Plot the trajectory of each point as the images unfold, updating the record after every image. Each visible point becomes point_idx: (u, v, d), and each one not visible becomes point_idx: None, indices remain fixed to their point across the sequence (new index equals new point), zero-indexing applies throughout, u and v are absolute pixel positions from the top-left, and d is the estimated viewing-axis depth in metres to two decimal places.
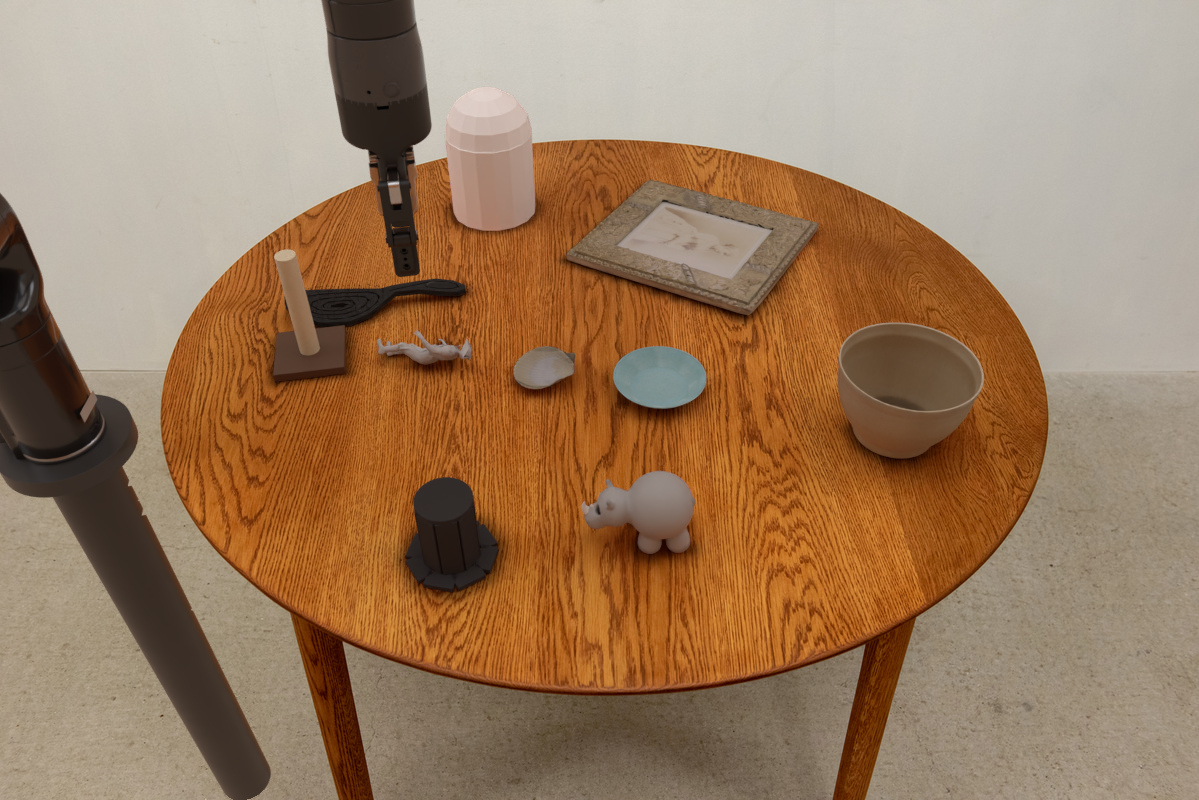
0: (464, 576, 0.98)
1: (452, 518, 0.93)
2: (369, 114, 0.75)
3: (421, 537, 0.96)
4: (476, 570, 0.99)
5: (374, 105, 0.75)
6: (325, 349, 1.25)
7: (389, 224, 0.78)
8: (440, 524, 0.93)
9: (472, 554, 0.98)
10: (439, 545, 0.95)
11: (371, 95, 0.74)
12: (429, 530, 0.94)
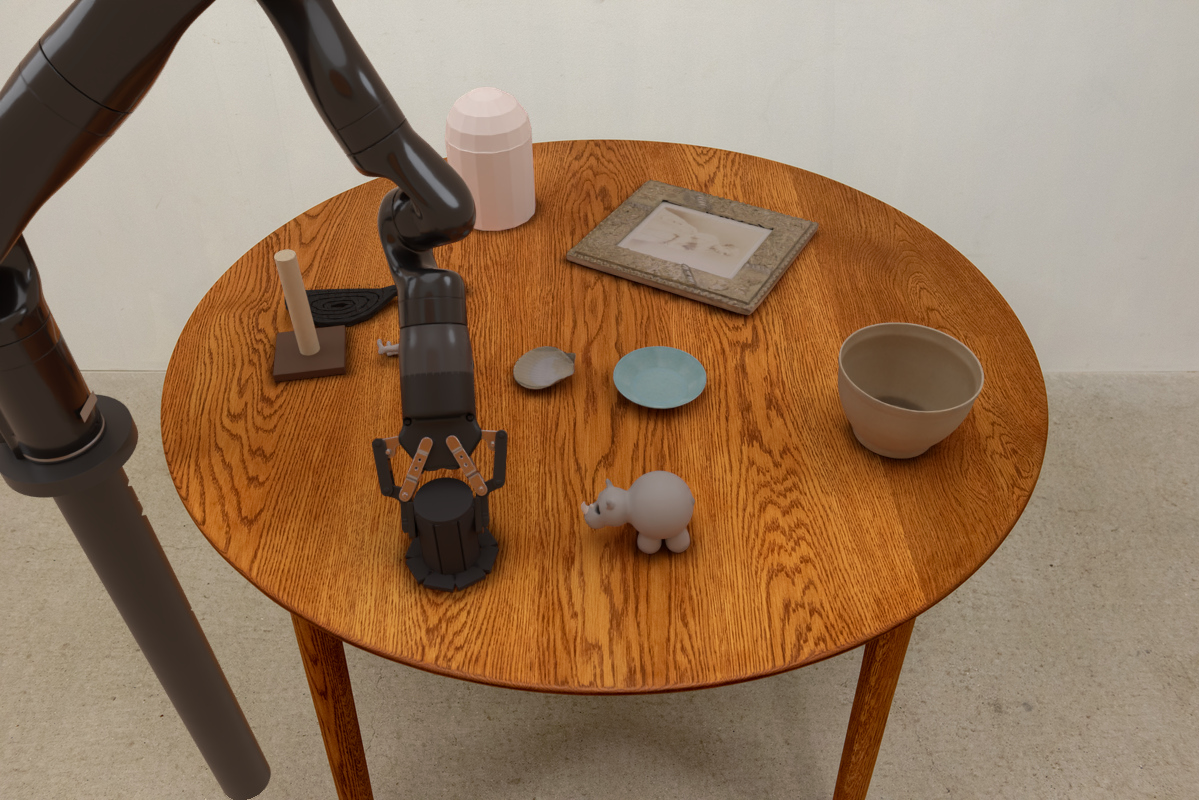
0: (464, 576, 0.98)
1: (452, 518, 0.93)
2: (471, 381, 0.96)
3: (421, 537, 0.96)
4: (476, 570, 0.99)
5: (472, 373, 0.97)
6: (325, 349, 1.25)
7: (505, 464, 0.96)
8: (440, 524, 0.93)
9: (472, 554, 0.98)
10: (439, 545, 0.95)
11: (471, 366, 0.97)
12: (429, 530, 0.94)
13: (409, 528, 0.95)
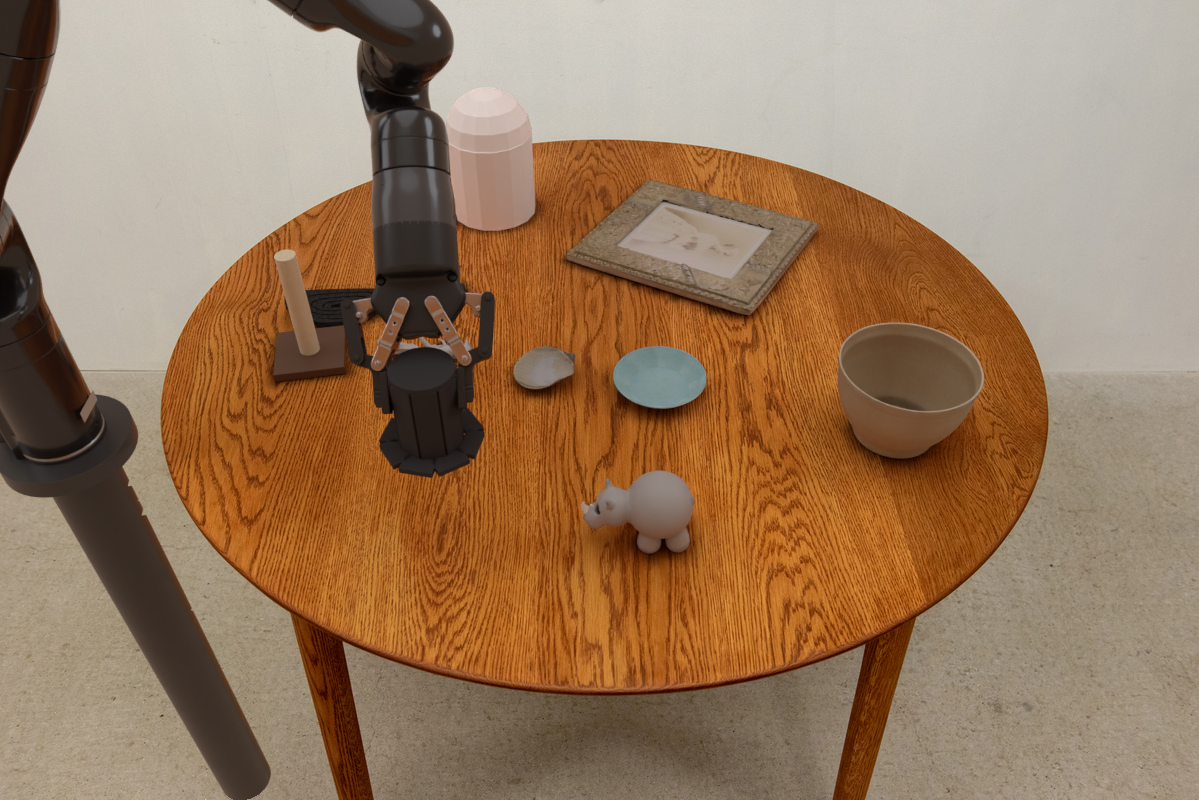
0: (445, 461, 0.87)
1: (431, 387, 0.82)
2: (454, 236, 0.85)
3: (396, 413, 0.85)
4: (459, 455, 0.87)
5: (455, 228, 0.85)
6: (325, 349, 1.25)
7: (492, 331, 0.85)
8: (417, 394, 0.82)
9: (454, 436, 0.87)
10: (416, 421, 0.84)
11: (454, 220, 0.85)
12: (405, 402, 0.83)
13: (382, 401, 0.84)
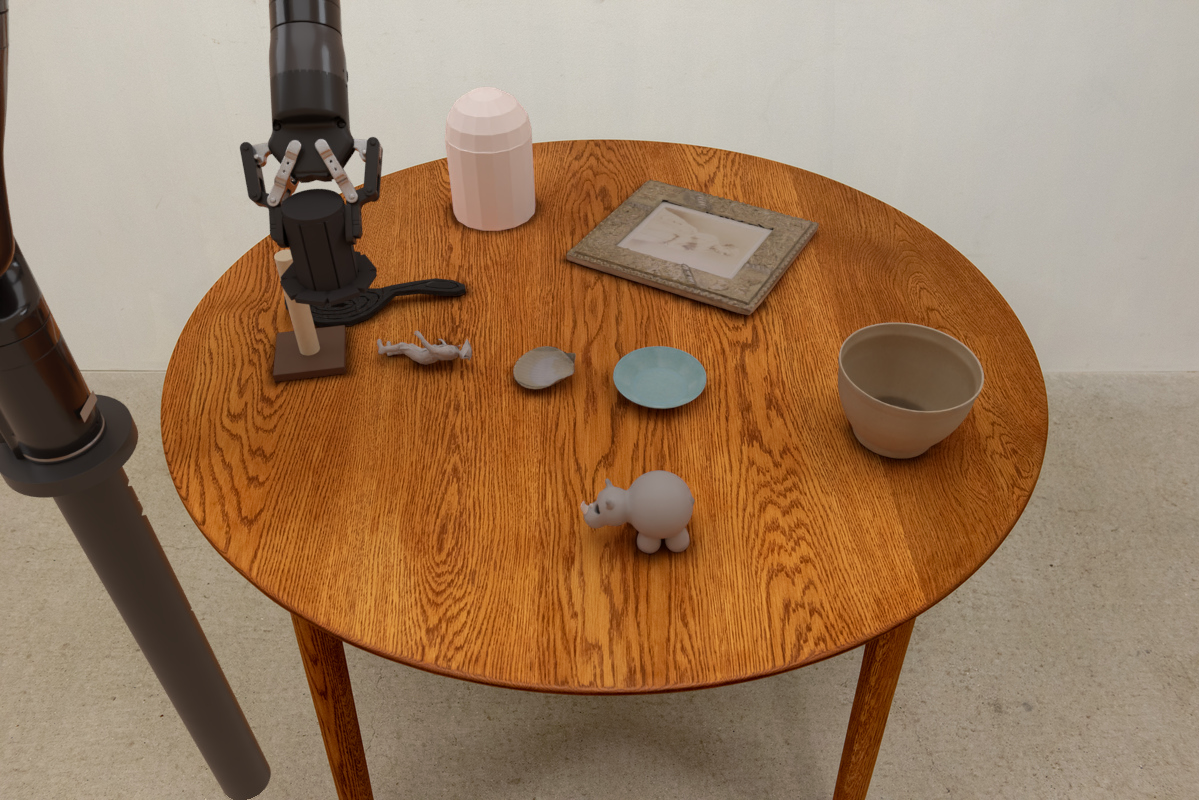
0: (337, 292, 0.97)
1: (318, 217, 0.92)
2: (343, 87, 0.94)
3: (291, 246, 0.94)
4: (350, 288, 0.97)
5: (345, 81, 0.95)
6: (325, 349, 1.25)
7: (377, 173, 0.95)
8: (306, 224, 0.92)
9: (345, 270, 0.97)
10: (308, 251, 0.94)
11: (343, 73, 0.95)
12: (296, 233, 0.92)
13: (277, 233, 0.93)
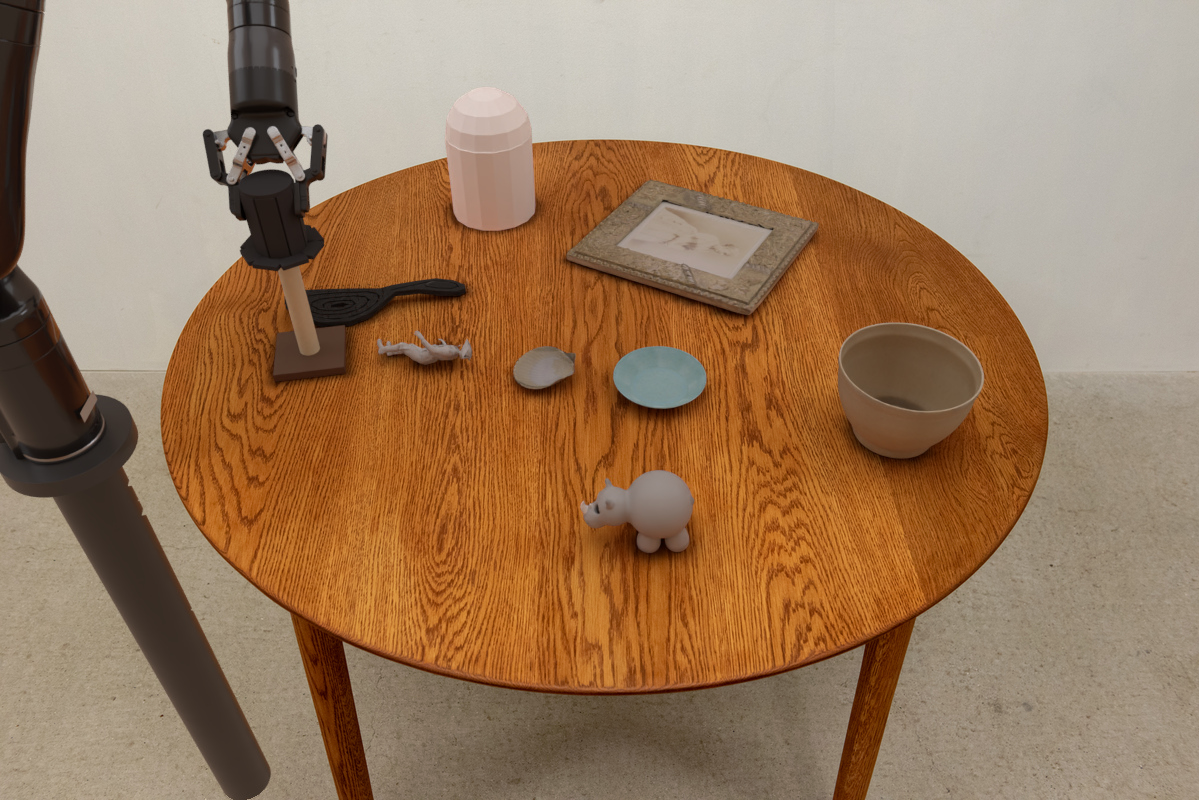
0: (289, 259, 1.12)
1: (270, 193, 1.07)
2: (291, 82, 1.09)
3: (247, 218, 1.09)
4: (300, 255, 1.12)
5: (293, 76, 1.10)
6: (325, 349, 1.25)
7: (322, 155, 1.10)
8: (259, 199, 1.07)
9: (296, 240, 1.12)
10: (262, 223, 1.09)
11: (292, 70, 1.10)
12: (251, 207, 1.07)
13: (235, 208, 1.08)
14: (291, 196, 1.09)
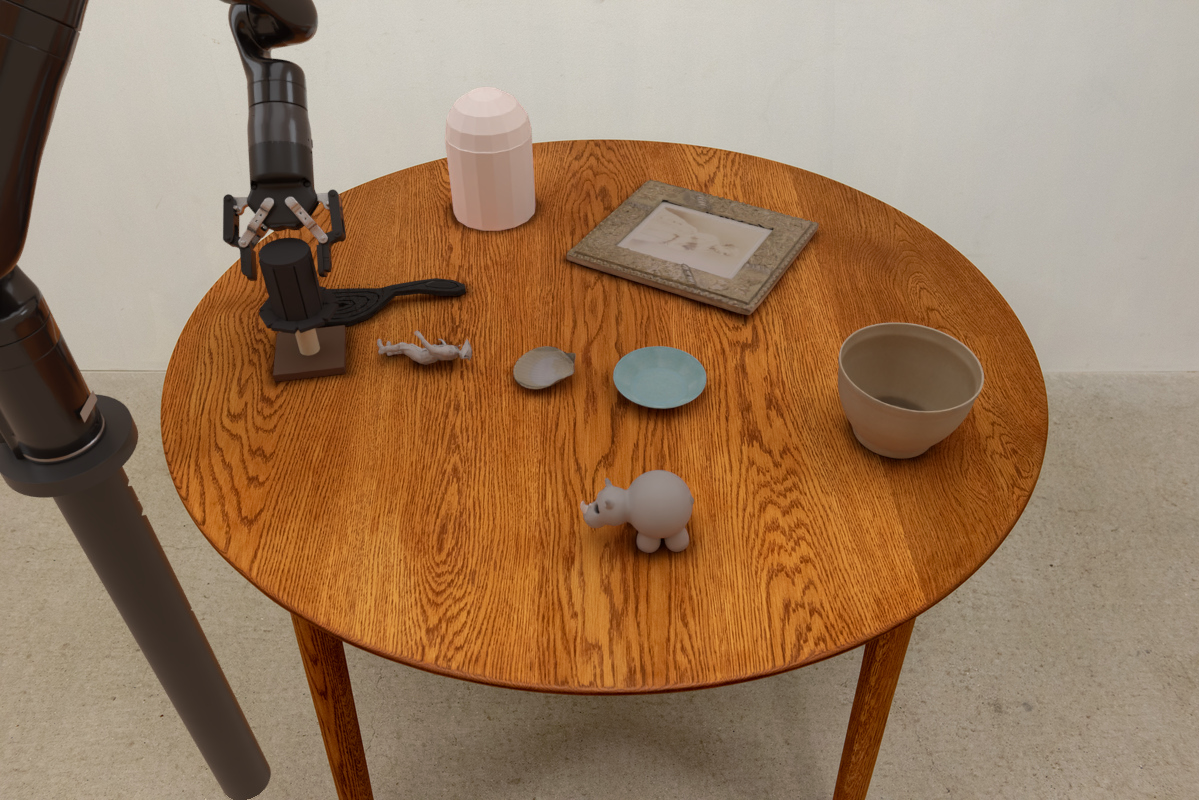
0: (305, 322, 1.18)
1: (289, 262, 1.13)
2: (308, 154, 1.16)
3: (267, 285, 1.16)
4: (316, 318, 1.19)
5: (310, 149, 1.16)
6: (325, 349, 1.25)
7: (341, 218, 1.16)
8: (278, 268, 1.13)
9: (312, 304, 1.18)
10: (280, 289, 1.15)
11: (308, 142, 1.16)
12: (271, 274, 1.14)
13: (247, 269, 1.14)
14: (308, 264, 1.15)
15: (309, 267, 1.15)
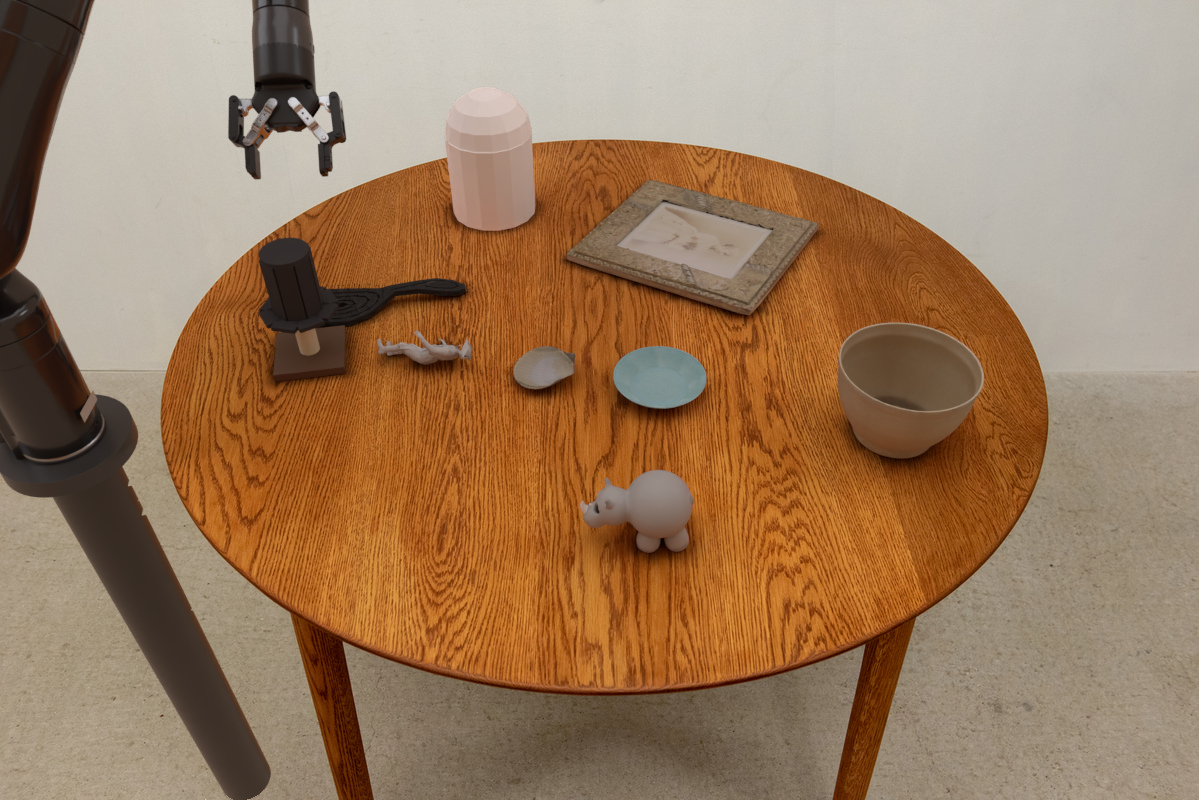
0: (305, 322, 1.18)
1: (289, 262, 1.13)
2: (310, 57, 1.21)
3: (267, 285, 1.16)
4: (316, 318, 1.19)
5: (311, 53, 1.21)
6: (325, 349, 1.25)
7: (341, 119, 1.21)
8: (278, 268, 1.13)
9: (312, 304, 1.18)
10: (280, 289, 1.15)
11: (310, 46, 1.21)
12: (271, 274, 1.14)
13: (251, 167, 1.19)
14: (308, 264, 1.15)
15: (309, 267, 1.15)
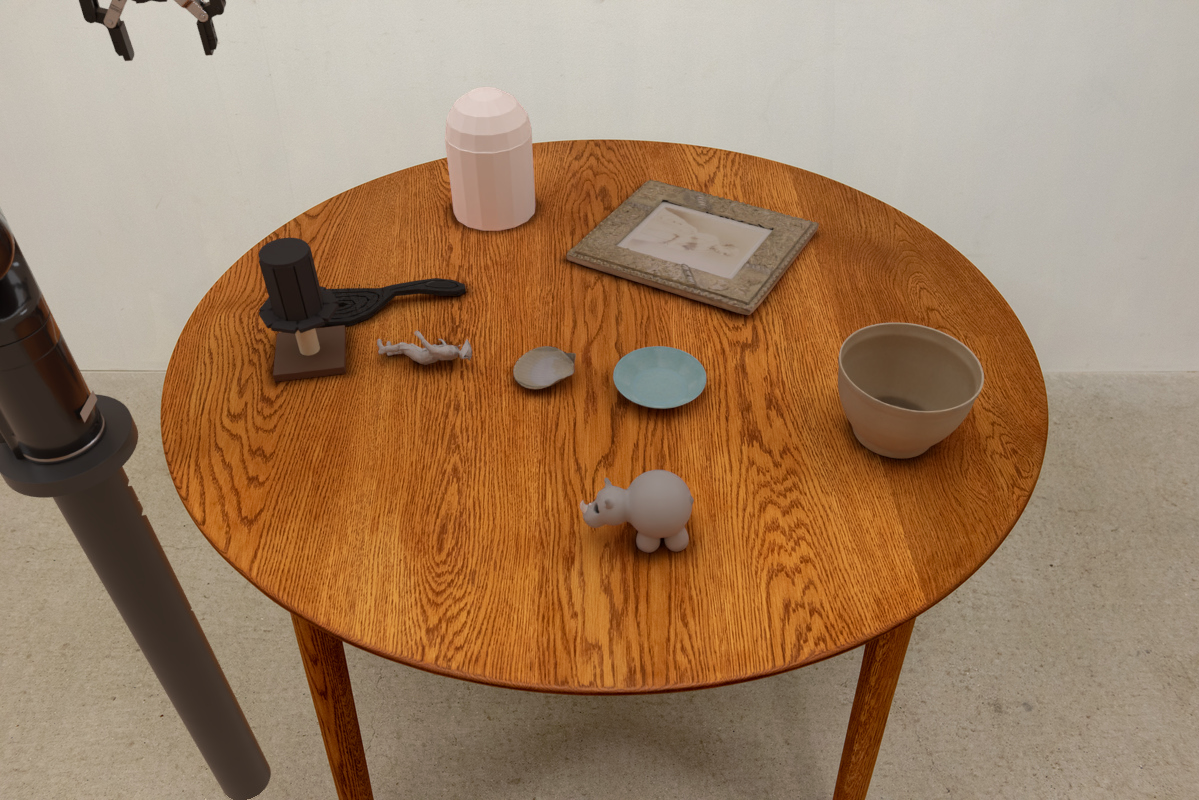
0: (305, 322, 1.18)
1: (289, 262, 1.13)
2: None
3: (267, 285, 1.16)
4: (316, 318, 1.19)
5: None
6: (325, 349, 1.25)
7: None
8: (278, 268, 1.13)
9: (312, 304, 1.18)
10: (280, 289, 1.15)
11: None
12: (271, 274, 1.14)
13: (122, 52, 1.03)
14: (308, 264, 1.15)
15: (309, 267, 1.15)
